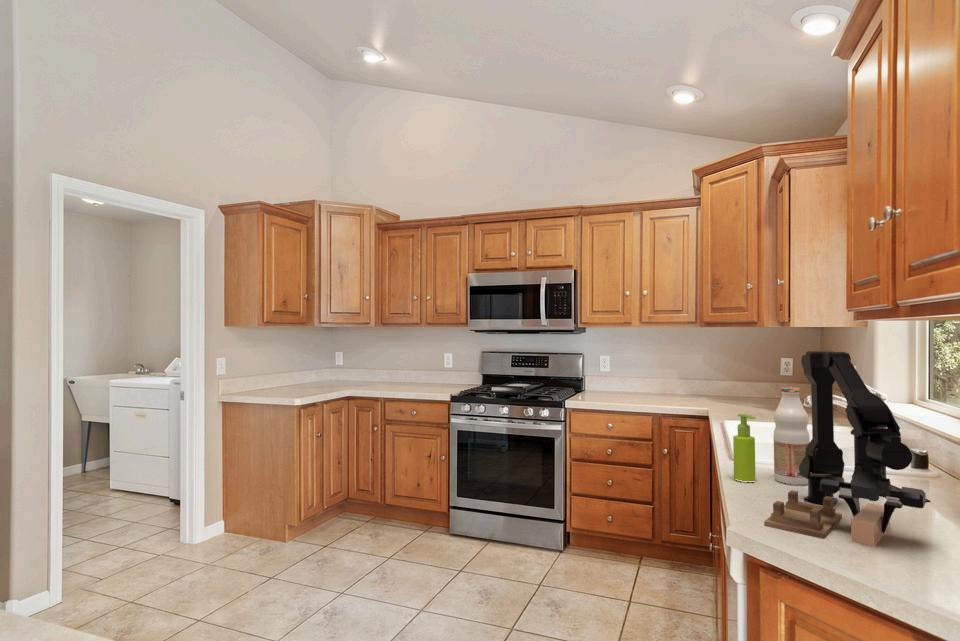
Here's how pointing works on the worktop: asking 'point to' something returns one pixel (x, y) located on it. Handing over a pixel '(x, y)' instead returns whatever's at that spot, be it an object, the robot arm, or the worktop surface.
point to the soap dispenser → (744, 451)
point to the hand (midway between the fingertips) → (871, 529)
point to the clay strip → (868, 525)
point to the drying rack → (804, 516)
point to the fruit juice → (790, 437)
